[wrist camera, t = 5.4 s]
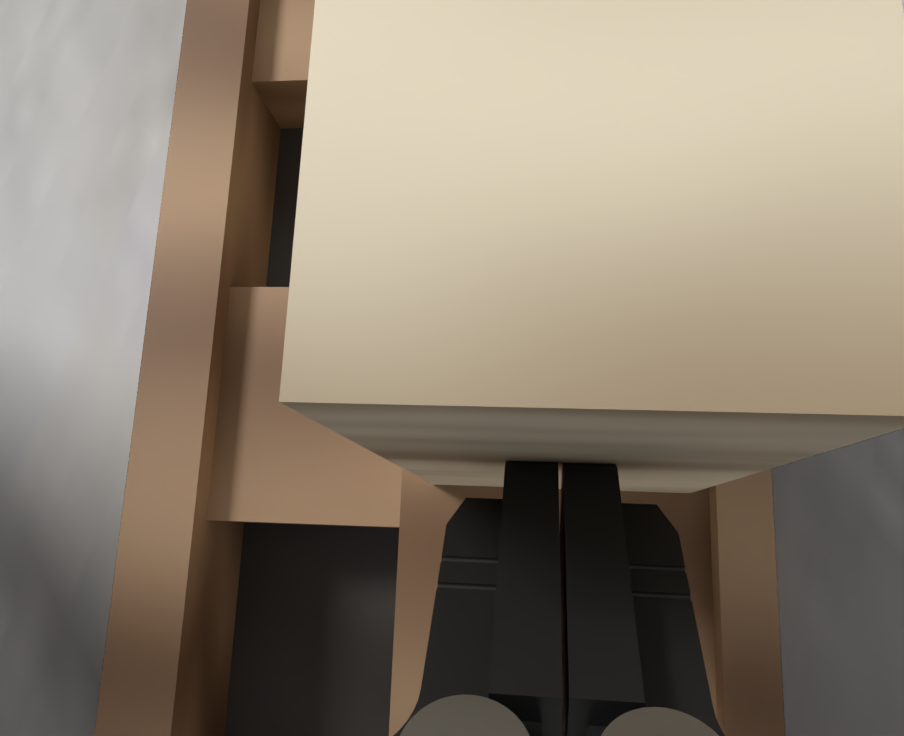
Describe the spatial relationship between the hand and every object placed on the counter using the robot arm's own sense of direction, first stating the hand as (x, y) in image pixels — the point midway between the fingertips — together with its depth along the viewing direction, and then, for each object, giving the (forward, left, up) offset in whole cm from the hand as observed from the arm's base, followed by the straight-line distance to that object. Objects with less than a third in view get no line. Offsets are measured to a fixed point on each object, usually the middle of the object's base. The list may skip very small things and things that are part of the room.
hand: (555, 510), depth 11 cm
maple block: (-4, +4, -4) cm, 7 cm away
